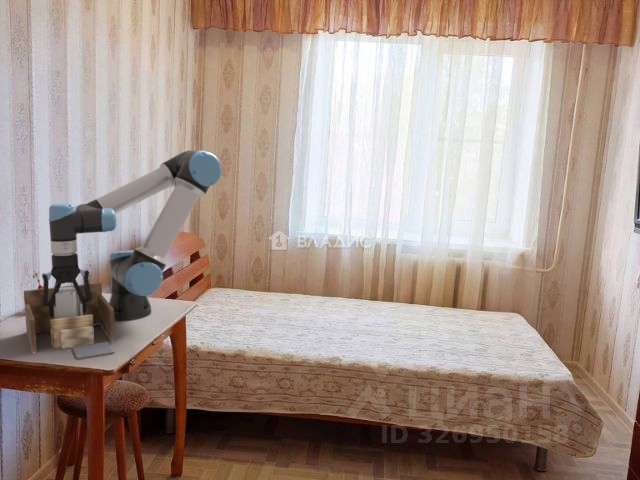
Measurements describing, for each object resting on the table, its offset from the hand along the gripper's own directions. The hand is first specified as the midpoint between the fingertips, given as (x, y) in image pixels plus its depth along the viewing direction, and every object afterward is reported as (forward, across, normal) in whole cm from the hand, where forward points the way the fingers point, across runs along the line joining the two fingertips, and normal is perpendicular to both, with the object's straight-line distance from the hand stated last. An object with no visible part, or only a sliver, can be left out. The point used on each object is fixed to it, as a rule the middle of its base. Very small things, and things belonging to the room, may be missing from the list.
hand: (68, 324), depth 187 cm
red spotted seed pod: (+4, -4, +34) cm, 34 cm away
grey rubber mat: (+4, +4, -19) cm, 20 cm away
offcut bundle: (+4, 0, -10) cm, 10 cm away
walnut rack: (+4, 0, -1) cm, 4 cm away
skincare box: (+4, 0, 0) cm, 4 cm away
